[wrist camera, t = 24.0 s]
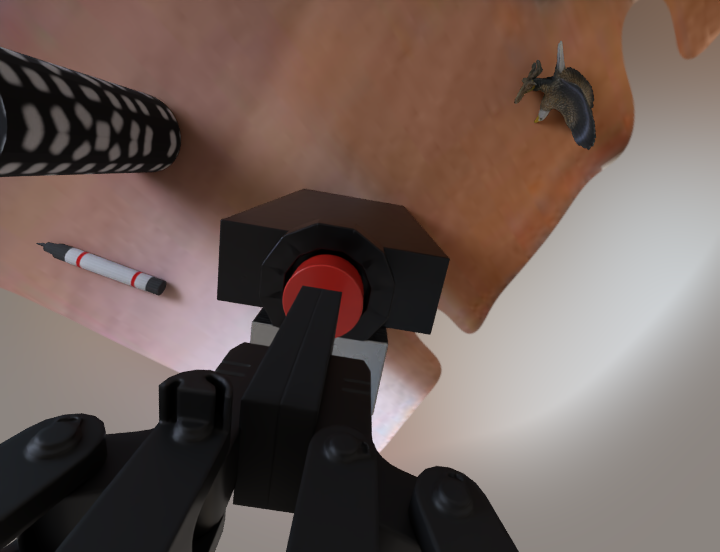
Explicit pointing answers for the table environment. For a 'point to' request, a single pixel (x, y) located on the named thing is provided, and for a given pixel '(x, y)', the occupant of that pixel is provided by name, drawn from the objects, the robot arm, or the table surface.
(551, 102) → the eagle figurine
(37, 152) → the spotted tube
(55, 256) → the marker
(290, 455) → the robot arm
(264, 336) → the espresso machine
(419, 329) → the tower
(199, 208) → the table surface
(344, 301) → the button
